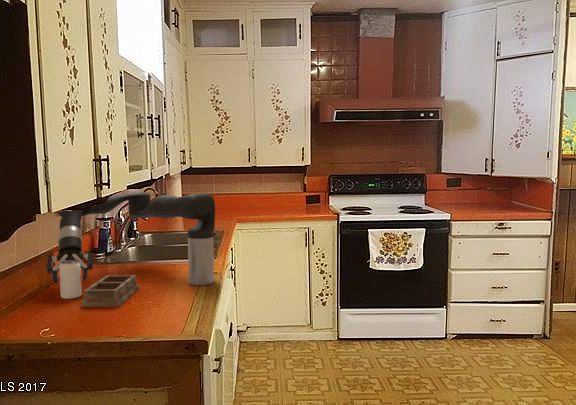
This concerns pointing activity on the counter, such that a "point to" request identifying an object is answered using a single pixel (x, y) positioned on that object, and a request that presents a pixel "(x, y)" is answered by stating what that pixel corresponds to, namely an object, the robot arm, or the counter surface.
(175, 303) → the counter surface
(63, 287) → the can
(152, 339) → the counter surface
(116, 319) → the counter surface
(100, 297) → the tray
